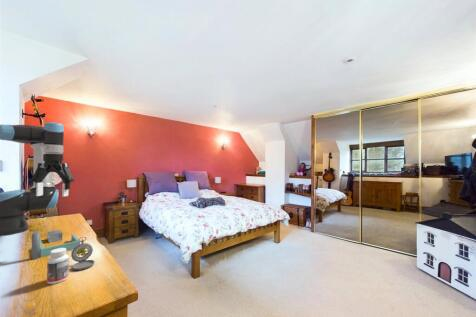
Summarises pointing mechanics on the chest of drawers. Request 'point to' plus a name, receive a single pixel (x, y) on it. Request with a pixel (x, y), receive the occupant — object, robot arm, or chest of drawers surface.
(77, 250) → the pocket watch
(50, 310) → the chest of drawers surface
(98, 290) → the chest of drawers surface
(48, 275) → the pill bottle
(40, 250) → the keeper
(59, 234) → the grey rectangular block
